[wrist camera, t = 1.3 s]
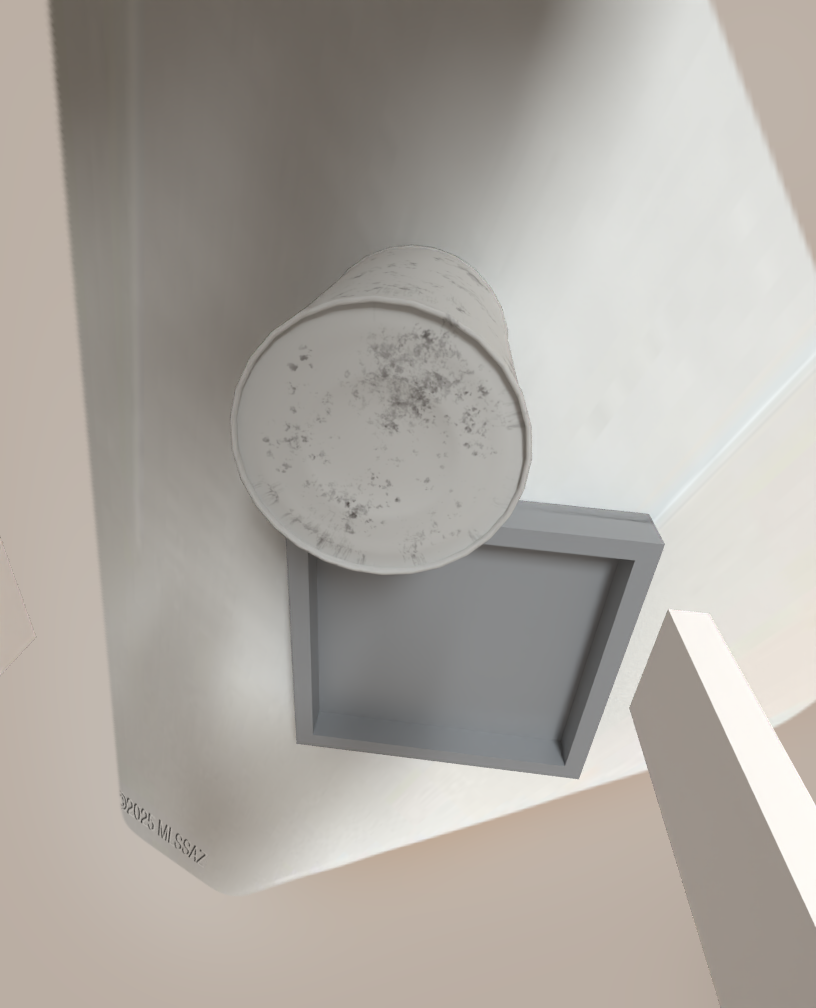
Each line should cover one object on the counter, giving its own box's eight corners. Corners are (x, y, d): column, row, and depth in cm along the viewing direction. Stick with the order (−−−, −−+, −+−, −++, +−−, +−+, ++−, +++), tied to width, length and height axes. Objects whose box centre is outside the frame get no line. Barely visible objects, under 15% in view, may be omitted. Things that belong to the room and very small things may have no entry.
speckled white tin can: (535, 394, 29) (574, 523, 18) (372, 461, 32) (324, 606, 21) (461, 205, 25) (457, 230, 14) (282, 301, 28) (168, 380, 17)
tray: (298, 477, 33) (284, 503, 30) (648, 514, 32) (664, 544, 29) (306, 709, 43) (296, 743, 40) (571, 741, 42) (578, 779, 39)
